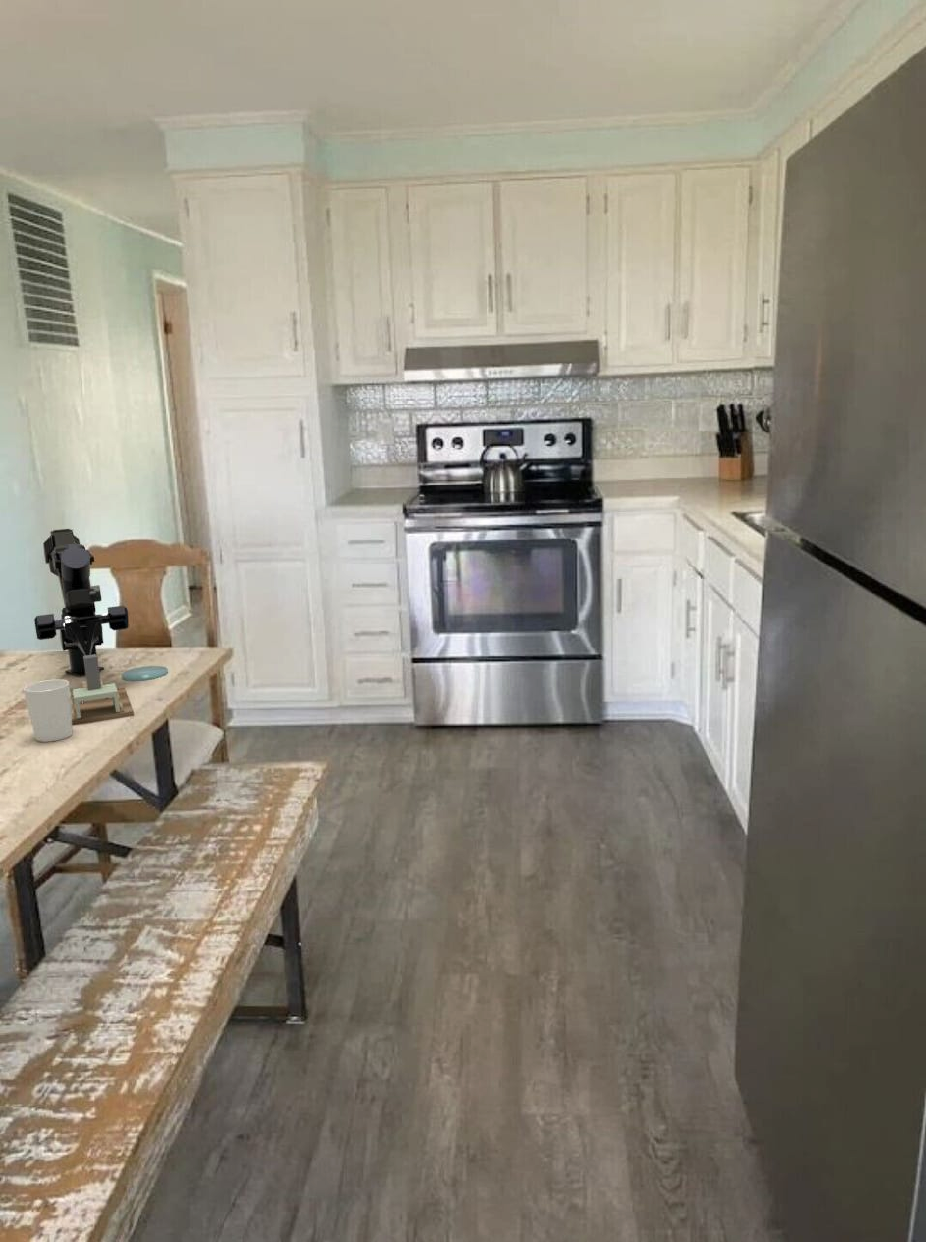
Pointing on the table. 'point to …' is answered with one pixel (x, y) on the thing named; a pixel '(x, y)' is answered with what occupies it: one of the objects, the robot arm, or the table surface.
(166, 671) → the teal saucer
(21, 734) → the table surface
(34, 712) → the white cup
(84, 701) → the block
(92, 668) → the sliding cover
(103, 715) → the puzzle board
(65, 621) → the robot arm
